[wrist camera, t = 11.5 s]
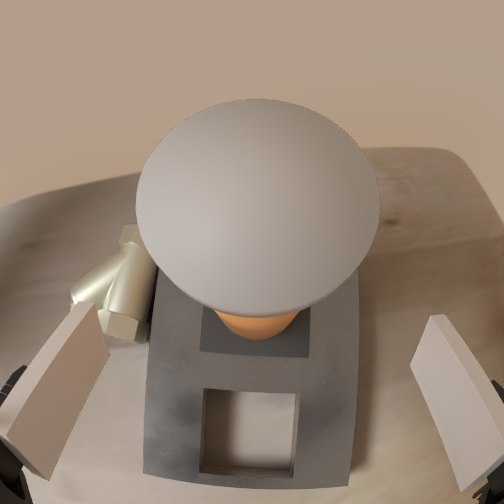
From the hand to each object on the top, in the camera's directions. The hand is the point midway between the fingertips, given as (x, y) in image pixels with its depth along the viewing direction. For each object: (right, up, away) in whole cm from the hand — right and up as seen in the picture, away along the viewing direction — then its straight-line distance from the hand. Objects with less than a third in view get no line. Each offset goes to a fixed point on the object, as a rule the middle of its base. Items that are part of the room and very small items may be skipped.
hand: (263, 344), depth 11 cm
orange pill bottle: (0, 0, +9) cm, 9 cm away
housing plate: (0, -5, +9) cm, 11 cm away
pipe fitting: (-11, +1, +12) cm, 16 cm away
